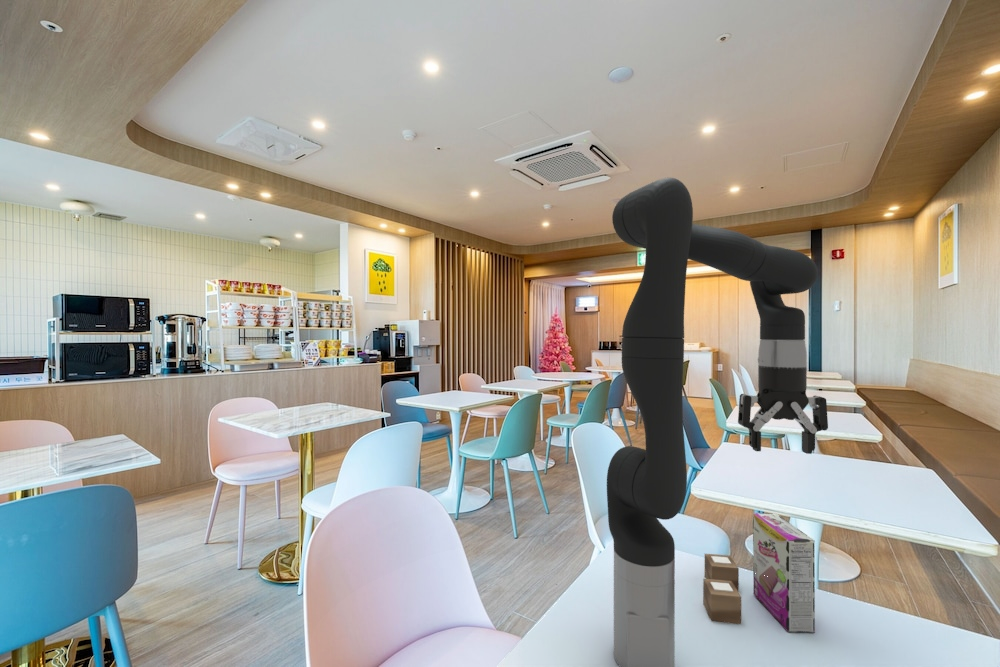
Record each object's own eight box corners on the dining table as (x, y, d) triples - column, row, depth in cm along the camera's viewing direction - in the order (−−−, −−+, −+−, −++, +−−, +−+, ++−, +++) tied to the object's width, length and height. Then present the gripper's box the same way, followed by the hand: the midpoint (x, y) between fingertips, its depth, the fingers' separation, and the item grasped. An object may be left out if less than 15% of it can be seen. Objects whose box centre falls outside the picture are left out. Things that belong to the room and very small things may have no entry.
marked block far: (738, 593, 87) (738, 567, 87) (711, 590, 88) (711, 565, 88) (729, 579, 92) (729, 554, 92) (704, 576, 93) (704, 552, 93)
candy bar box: (751, 594, 87) (751, 512, 86) (776, 595, 86) (776, 512, 86) (787, 634, 75) (787, 539, 75) (816, 634, 75) (816, 539, 75)
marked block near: (741, 624, 78) (741, 595, 78) (711, 621, 79) (711, 593, 79) (731, 607, 83) (731, 579, 83) (703, 604, 84) (703, 577, 84)
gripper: (748, 365, 78) (748, 455, 79) (836, 366, 76) (836, 459, 76) (733, 362, 86) (733, 444, 86) (813, 363, 84) (813, 448, 84)
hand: (781, 451), depth 81 cm, fingers open, 8 cm apart
